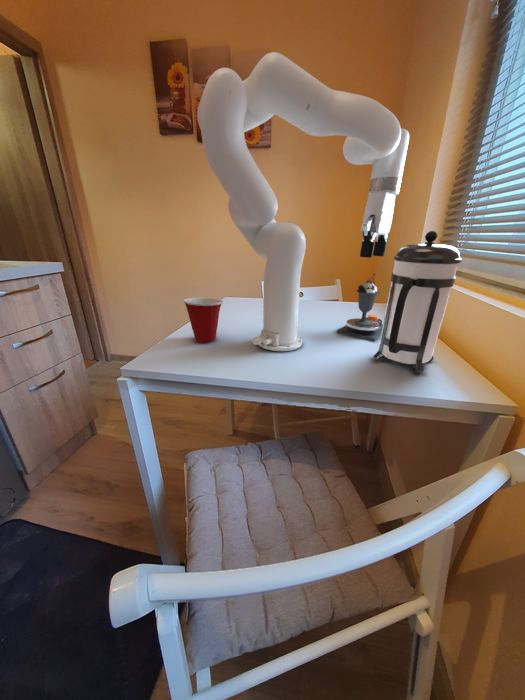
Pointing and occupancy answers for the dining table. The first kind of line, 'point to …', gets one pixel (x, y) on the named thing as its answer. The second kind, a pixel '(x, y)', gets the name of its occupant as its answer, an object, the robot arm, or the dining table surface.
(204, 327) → the plastic cup
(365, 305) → the sundae
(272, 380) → the dining table surface
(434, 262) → the coffee press
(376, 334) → the scale
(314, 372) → the dining table surface
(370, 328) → the pan
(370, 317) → the tare button
